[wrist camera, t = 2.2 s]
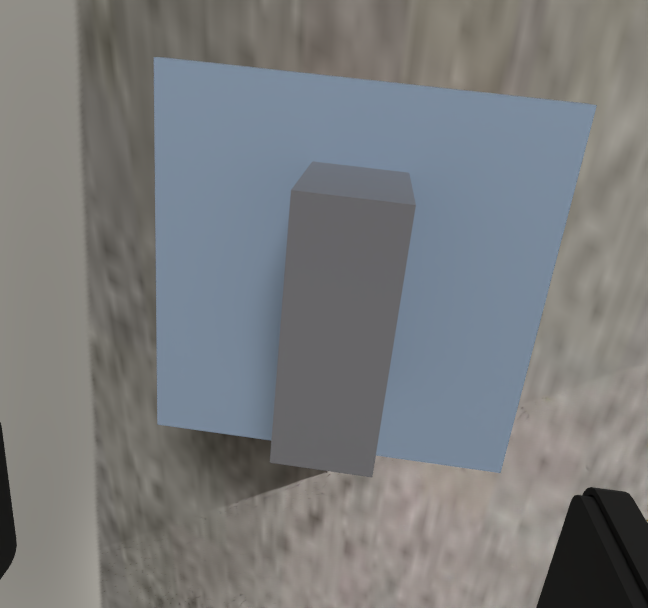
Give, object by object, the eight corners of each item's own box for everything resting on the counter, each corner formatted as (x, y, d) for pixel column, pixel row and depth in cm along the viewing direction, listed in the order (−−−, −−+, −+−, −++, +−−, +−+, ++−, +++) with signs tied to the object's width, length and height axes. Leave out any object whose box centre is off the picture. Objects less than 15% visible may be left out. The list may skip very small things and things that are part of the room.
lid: (573, 100, 19) (664, 118, 13) (490, 436, 24) (526, 568, 18) (178, 57, 20) (82, 54, 14) (177, 393, 25) (106, 505, 19)
